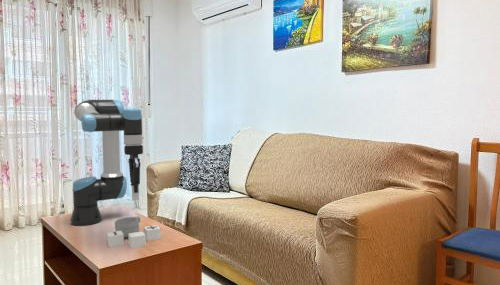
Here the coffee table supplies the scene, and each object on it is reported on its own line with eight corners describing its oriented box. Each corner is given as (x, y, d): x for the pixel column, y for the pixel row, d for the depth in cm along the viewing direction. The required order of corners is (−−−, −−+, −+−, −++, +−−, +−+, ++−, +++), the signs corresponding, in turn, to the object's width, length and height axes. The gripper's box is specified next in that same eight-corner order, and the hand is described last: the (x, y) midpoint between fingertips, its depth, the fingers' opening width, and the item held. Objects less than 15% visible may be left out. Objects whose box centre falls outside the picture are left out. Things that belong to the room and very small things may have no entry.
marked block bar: (107, 243, 163) (106, 232, 163) (121, 241, 166) (121, 230, 165) (109, 248, 158) (108, 236, 157) (123, 245, 161) (123, 233, 160)
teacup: (124, 241, 166) (124, 223, 165) (110, 237, 172) (109, 220, 171) (149, 233, 177) (149, 216, 176) (135, 229, 183) (134, 213, 183)
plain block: (128, 244, 162) (128, 233, 161) (142, 242, 164) (142, 231, 164) (131, 248, 156) (131, 237, 156) (145, 246, 159) (145, 235, 159)
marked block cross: (144, 237, 171) (143, 226, 170) (157, 235, 173) (156, 224, 173) (147, 241, 165) (147, 230, 165) (160, 239, 168) (160, 227, 168)
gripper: (146, 145, 153) (148, 201, 155) (139, 143, 165) (141, 196, 166) (127, 146, 150) (129, 204, 151) (121, 144, 161) (123, 198, 163)
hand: (135, 199), depth 159 cm, fingers closed
